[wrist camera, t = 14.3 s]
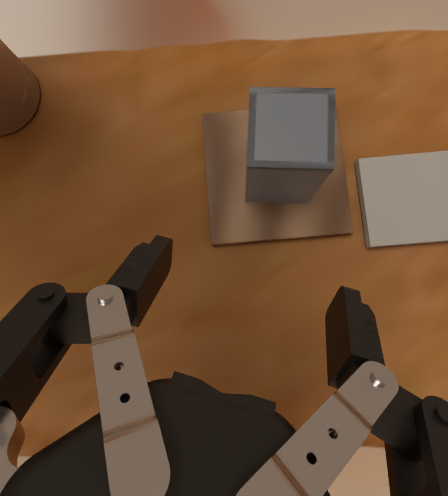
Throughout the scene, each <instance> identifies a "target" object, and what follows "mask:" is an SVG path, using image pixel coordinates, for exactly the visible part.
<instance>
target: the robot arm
mask: <svg viewBox="0 0 448 496" xmlns="http://www.w3.org/2000/svg"><path fill="white" fill-rule="evenodd" d="M39 99H40V89H39V84H38V81H37V79H36V77H35V76H34V74H33V73H32V72H31V71H30V70H29V69H28V68H27V67H26V66H25V65H24V64H23V63H22V62H21V60H20V59H19V58H18V57H17V56H16V55H15V54H13V52H12V51H11V50H10V49H9V48H8V47H7V46H6V45H5V44H4V43H3V42H2V41H1V40H0V136H2V135H7V134H10V133H13V132H15V131H17V130H19V129H20V128H22V127H23V126H24V125H26V124H27V123H28V122H29V120H30V119H31V118H32V117H33V115H34V113H35V112H36V110H37V107H38V104H39ZM172 245H173V240H172V239H170V238H166V237H163V236H159V235H156V236H155V237H154V239H153V240H152V242H151V243H150V244H148V243H144V242H143V243H141V244H140V245H138V246H136V247H135V248H134V249H133V250H132V251H131V253H130V254H129V256H127V258H126V259H125V260H124V262H123V263H122V264H121V265H120V267H119V268H118V269H117V271H116V272H115V273H114V274H113V276H112V277H111V278H110V280H109V281H108V282H107V283H106V284H105V285H100V286H97V287H95V288H93V289H92V290H91V291H90V292H89V293H66V292H65V289H64V287H63V286H62V285H60V284H57V283H43V284H40V285H37V286H35V287H33V288H32V289H31V290H30V291H28V293H27V294H26V295H25V296H24V297H23V298H22V299H21V300H20V301H19V302H18V303H17V304H16V305H15V306H14V307H13V309H12V310H11V311H10V312H9V313H8V314H7V315H6V316H5V317H4V318H3V319H2V320H1V321H0V496H330V494H329V492H328V490H327V489H328V488H329V487H330V485H331V484H332V483H333V481H334V480H335V479H336V477H337V476H338V475H339V473H340V472H341V471H342V469H343V468H344V467H345V465H346V464H347V463H348V461H349V460H350V459H351V457H352V456H353V455H354V453H355V452H356V450H357V449H358V448H359V447H360V445H361V444H362V443H363V441H364V440H365V439H366V437H367V436H368V435H369V433H370V432H371V433H372V434H374V435H375V436H377V437H378V438H380V439H381V440H383V441H384V442H385V451H386V459H387V468H388V477H389V486H390V495H391V496H448V402H447V401H445V400H443V399H442V398H439V397H436V396H427V397H425V398H424V399H423V400H422V399H420V398H419V397H417V396H415V395H414V394H412V393H410V392H408V391H407V390H405V389H404V388H402V387H401V386H399V385H398V382H397V379H396V377H395V376H394V374H393V373H392V372H391V371H390V370H389V369H388V368H387V367H386V366H385V363H384V358H383V353H382V348H381V344H380V339H379V335H378V329H377V327H376V326H377V324H376V320H375V315H374V313H373V312H372V310H371V309H370V307H369V306H368V305H366V304H363V303H362V302H361V296H360V292H359V291H358V290H355V289H351V288H347V287H344V286H341V287H340V288H339V290H338V291H337V293H336V295H335V297H334V298H333V300H332V302H331V304H330V305H329V307H328V310H327V313H326V318H325V326H326V350H327V374H328V385H329V386H332V387H335V388H337V391H336V392H334V393H333V394H332V395H331V396H330V397H329V398H328V399H327V401H326V402H325V403H324V404H323V405H322V406H321V407H320V408H319V409H318V410H317V411H316V412H315V413H314V414H313V415H312V416H311V417H310V418H309V419H308V420H307V421H306V422H305V423H304V424H303V425H302V426H301V428H300V429H299V430H298V431H297V432H296V431H295V429H294V428H293V427H292V425H291V424H290V423H289V422H288V421H287V420H286V419H285V418H284V417H283V416H281V415H280V414H279V413H277V412H276V411H275V406H276V403H275V402H272V401H269V400H266V399H262V398H259V397H256V396H253V395H244V394H224V393H221V392H219V391H218V390H216V389H215V388H213V387H211V386H210V385H208V384H206V383H205V382H203V381H202V380H200V379H198V378H195V377H192V376H188V375H185V374H182V373H179V372H175V371H174V374H173V376H172V379H171V378H166V379H158V380H154V381H151V382H148V383H147V380H146V376H145V372H144V368H143V364H142V360H141V356H140V352H139V348H138V344H137V340H136V336H135V333H134V331H133V330H132V328H131V325H132V326H136V327H139V325H140V323H141V322H142V320H143V318H144V316H145V315H146V313H147V311H148V309H149V307H150V306H151V304H152V302H153V300H154V299H155V297H156V295H157V293H158V291H159V290H160V288H161V286H162V284H163V283H164V281H165V279H166V277H167V276H168V273H169V271H170V268H171V261H172ZM89 343H91V346H92V354H93V362H94V369H95V377H96V385H97V392H98V400H99V408H100V413H98V414H97V415H95V416H93V417H92V418H90V419H89V420H87V421H86V422H84V423H83V424H81V425H79V426H78V427H76V428H75V429H73V430H72V431H70V432H69V433H67V434H66V435H64V436H62V437H61V438H59V439H58V440H56V441H55V442H53V443H52V444H50V445H49V446H47V447H45V448H44V449H42V450H41V451H39V452H38V453H36V454H35V455H33V456H32V457H30V458H29V459H28V460H27V461H25V462H24V463H23V464H22V465H21V466H20V467H19V468H17V458H18V454H19V451H20V449H21V447H22V445H23V443H24V439H25V431H24V428H23V426H22V425H21V423H20V422H21V420H22V419H23V417H24V416H25V414H26V413H27V411H28V410H29V408H30V406H31V405H32V403H33V402H34V400H35V399H36V397H37V396H38V394H39V393H40V391H41V390H42V388H43V387H44V385H45V384H46V382H47V381H48V379H49V378H50V376H51V375H52V373H53V372H54V370H55V369H56V367H57V366H58V364H59V362H60V361H61V359H62V358H63V356H64V355H65V353H66V352H67V350H68V349H69V347H70V346H71V344H89Z"/></svg>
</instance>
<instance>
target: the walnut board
mask: <svg viewBox="0 0 448 496" xmlns="http://www.w3.org/2000/svg"><path fill="white" fill-rule="evenodd" d="M202 119H203V134H204V148H205V162H206V177H207V191H208V205H209V219H210V234H211V245H212V246H214V245H226V244H238V243H251V242H263V241H275V240H287V239H300V238H312V237H324V236H337V235H349V234H351V233H353V229H352V222H351V214H350V206H349V199H348V191H347V184H346V176H345V169H344V161H343V154H342V146H341V138H340V131H339V123H338V116H337V108H336V101H335V156H334V170H333V172H332V173H331V174H330V175H329V176H328V178H327V179H326V180H325V181H324V183H323V184H322V185H321V186H320V188H319V189H318V190H317V191H316V193H315V194H314V195H313V196H312V198H311V199H310V200H309V201H308V203H307V204H304V203H275V202H245V185H246V162H247V139H248V120H249V109H248V110H238V111H228V112H218V113H208V114H202Z"/></svg>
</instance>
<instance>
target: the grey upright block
mask: <svg viewBox="0 0 448 496" xmlns="http://www.w3.org/2000/svg"><path fill="white" fill-rule="evenodd" d="M334 156H335V88H279V87H250V101H249V120H248V139H247V162H246V185H245V202H275V203H304V204H307V203H308V201H309V200H310V199H311V198H312V196H313V195H314V194H315V193H316V191H317V190H318V189H319V188H320V186H321V185H322V184H323V183H324V181H325V180H326V179H327V178H328V176H329V175H330V174H331V173H332V172H333V170H334Z"/></svg>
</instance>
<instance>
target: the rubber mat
mask: <svg viewBox="0 0 448 496" xmlns="http://www.w3.org/2000/svg"><path fill="white" fill-rule="evenodd" d="M355 169H356V176H357V183H358V191H359V198H360V205H361V212H362V220H363V227H364V234H365V242H366V248H371V247H384V246H396V245H409V244H422V243H434V242H447V241H448V151H437V152H427V153H416V154H405V155H394V156H383V157H372V158H361V159H358V160H357V161H356V162H355Z"/></svg>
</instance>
